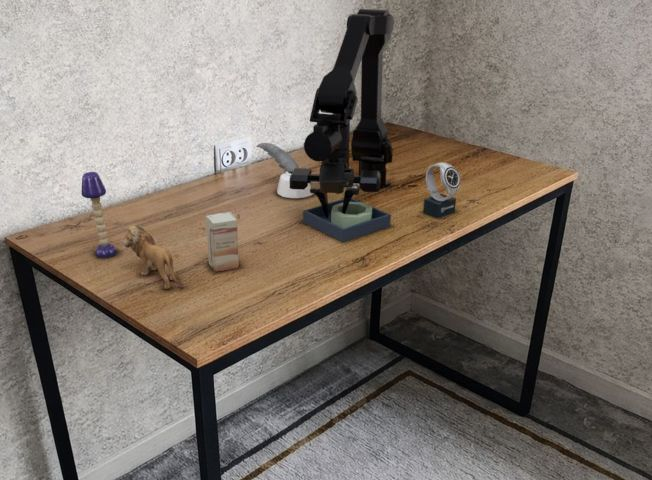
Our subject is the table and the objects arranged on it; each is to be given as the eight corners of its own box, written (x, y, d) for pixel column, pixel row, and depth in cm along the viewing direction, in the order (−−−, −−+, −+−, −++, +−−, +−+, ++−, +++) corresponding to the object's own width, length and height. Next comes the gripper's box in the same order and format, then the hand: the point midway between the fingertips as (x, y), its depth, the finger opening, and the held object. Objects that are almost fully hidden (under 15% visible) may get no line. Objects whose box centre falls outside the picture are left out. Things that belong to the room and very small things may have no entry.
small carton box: (215, 272, 147) (211, 223, 142) (208, 263, 150) (204, 215, 145) (240, 267, 149) (237, 218, 143) (233, 258, 152) (230, 210, 147)
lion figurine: (122, 271, 148) (115, 228, 143) (143, 262, 151) (138, 219, 147) (173, 293, 140) (168, 248, 135) (195, 283, 143) (190, 238, 139)
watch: (444, 220, 167) (448, 171, 161) (417, 210, 172) (420, 162, 166) (461, 214, 170) (466, 165, 164) (434, 204, 175) (438, 157, 169)
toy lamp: (104, 260, 152) (90, 179, 144) (87, 255, 155) (73, 175, 146) (121, 251, 156) (109, 171, 147) (104, 247, 158) (91, 168, 149)
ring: (323, 221, 166) (323, 208, 165) (354, 211, 171) (354, 199, 169) (349, 233, 161) (349, 220, 159) (379, 223, 165) (380, 210, 163)
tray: (302, 222, 167) (302, 210, 166) (349, 208, 174) (349, 196, 173) (342, 242, 158) (343, 230, 157) (390, 226, 165) (391, 214, 163)
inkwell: (297, 202, 178) (296, 159, 172) (242, 185, 188) (240, 144, 183) (323, 191, 184) (323, 149, 178) (268, 175, 194) (267, 135, 189)
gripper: (284, 157, 152) (286, 231, 160) (378, 160, 150) (376, 235, 158) (292, 141, 161) (294, 211, 170) (382, 143, 159) (379, 214, 167)
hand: (335, 218), depth 166 cm, fingers open, 3 cm apart
